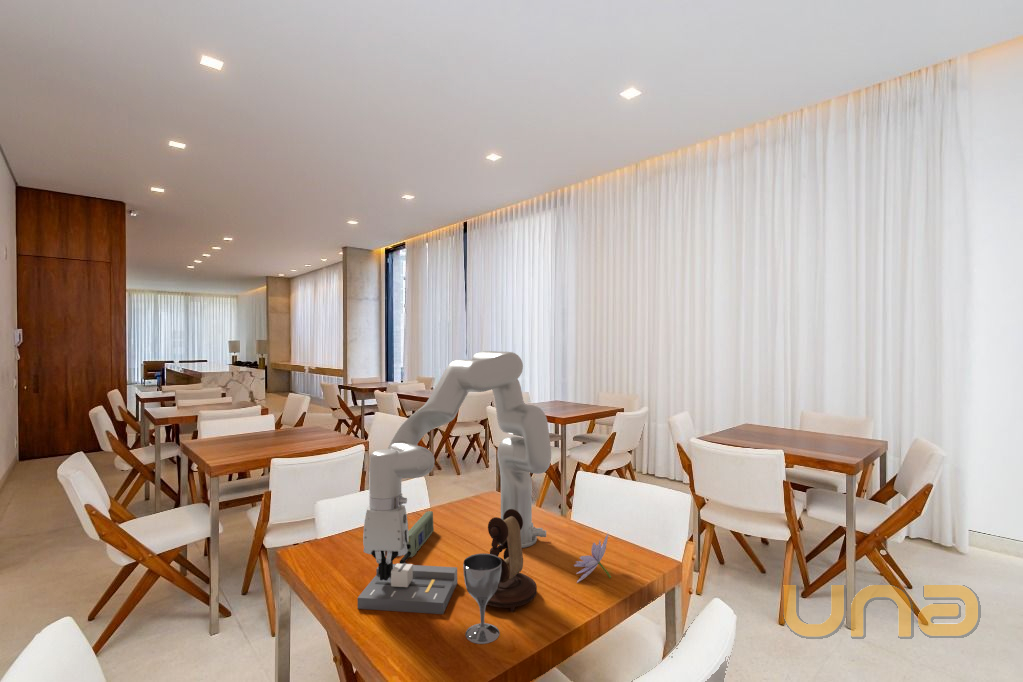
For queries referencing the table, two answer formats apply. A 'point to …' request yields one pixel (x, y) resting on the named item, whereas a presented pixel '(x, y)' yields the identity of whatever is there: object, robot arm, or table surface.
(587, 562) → the water lily
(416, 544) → the handheld radio
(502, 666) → the table surface
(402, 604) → the console
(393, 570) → the fader knob
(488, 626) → the wine glass
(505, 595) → the scroll
